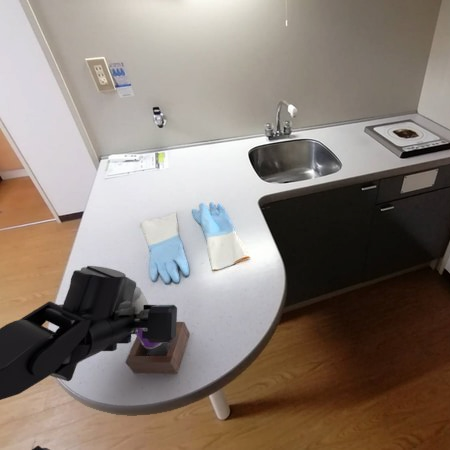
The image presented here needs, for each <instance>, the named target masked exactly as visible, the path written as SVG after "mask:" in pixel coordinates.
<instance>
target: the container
mask: <svg viewBox="0 0 450 450" xmlns="http://www.w3.org/2000/svg"><path fill="white" fill-rule="evenodd" d="M144 305H151V304H150V303H149V301H148V299H147V297H146V295H145V294H144V292H143V290H142V289H141V287H139V286H136V289H135V291H134V295H133V300H132V303H131V306H135V314H139V313H140V311H141V310H143V307H144ZM135 320H137V319H135ZM138 320H139V319H138ZM136 329H137V328H136ZM138 329H139V328H138ZM135 336H136V337H138V339H139V340H140V342H141V343H142V345H143V346H144V347H145V348H147V349H150V350H151V349H155V348H157V347H159V346H161V344H162V343H149V341H148V340H147V339H142V329H139V333H138V334H135Z"/></svg>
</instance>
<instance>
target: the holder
mask: <svg viewBox="0 0 450 450" xmlns="http://www.w3.org/2000/svg"><path fill="white" fill-rule="evenodd" d="M189 338H190V331H189V328H188V326H187V324H186V322H185V321H177V326H176V337H175V338H174V339H173V340H172V341H170V345H169V347H168V350H167V354H166V355H149V353H150V350H151V349H147V348H145V347H144V346H143V345H142V343H141V342H140V340H139V339H138V337H137V336H136V337H135V339H134V341H133V344H132V345H131V349H130V350H129V353H128V355H127V358H126V360H125V362H124V363H125V364H126V365H127V367H128V368H129V369H130V370H131V371H132V373H133V374H178V372H179V369H180V365H181V364H182V360H183V356H184V354H185V350H186V346H187V343H188V341H189V340H188V339H189Z"/></svg>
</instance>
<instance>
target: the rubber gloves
mask: <svg viewBox="0 0 450 450" xmlns="http://www.w3.org/2000/svg"><path fill="white" fill-rule="evenodd" d="M198 208H199V210H198V209H196V208H192V209H191V214H192V217H193V218H194V220H195V221H196V222H197V223H198V224H199V225H201V228H202V232H203V233H204V236H205V241H206V246H207V252H208V257H209V263H210V268H211V271H212V272H215V271H218V270H222V269H225V268H227V267H230V266H233V265H234V264H237V263H240V262H243V261H245V260H248V259H250V258H251V256H250V254H249V253H248V250H247V249H246V247H245V245H244V243H243V242H242V240H241V239H240V237H239V236H238V234H237V232H236V230H235V227H234V225H233V223H232V221H231V219H230V216H229V215H228V212H227V210H226V208H225V207H224V206H223V205H222V204H221V203H217V204H215V203H214V202H212V201H210V202H209V207H208V206H207V205H206V203H204V202H200V203H199V204H198ZM140 226H141V230H142V232H143V235H144V238H145V241H146V244H147V246H148V251H149V253H150V256H149V265H148V274H149V278H150V279H151V281H152V282H156V281H157V280H158V277H159V275H160V277H161V279H162V281H163V282H164V283H165V284H170V283H171V281H173V282H174V283H175V284H177V283H179V282H180V274H179V269H180V270H181V272H182V274H183V276H184V277H188V276H189V275H190V269H189V267H190V266H189V262H188V259H187V257H186V254H185V251H184V244H183V241H182V239H181V237H180V234H179V223H178V216H177V212H176V211H173V212H171V213H170V214H168V215H166V216H163V217H159V218H156V219H151V220H144V221H142V222H140Z"/></svg>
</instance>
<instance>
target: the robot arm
mask: <svg viewBox="0 0 450 450" xmlns="http://www.w3.org/2000/svg"><path fill="white" fill-rule="evenodd" d="M136 287H137V282H136V281H135V280H133V279H131V278H129V277H127V276H126V274H125V273H124V272H122V271H120V270H117V269H113V268H110V267H104V266H98V265H87V266H84V267H81V268H80V269H78V270H77V269H75V270H73V272H72V274H71V277H70V283H69V288H68V290H67V292H66V296H65V298H64V301H63V303H62V304H57V303H55V302H53V301H47V302H46V303H44V304H42V305H40V306H39V307H38V308H36V309H34V310H33V311H31V312H29V313H28V314H26V315H24V316H23V317H22V318H20V319H17V320H14V321H11V322H9V323H6V324H5V325H3V326H2V327H0V401H2V400H5V399H8V398H11V397H14V396H17V395H20V394H22V393H24V392H25V391H27V390H28V389H30V388H32V387H33V386H35V385H37V384H38V383H40V382H42V381H43V380H44V379H47V378H48V377H53V378H56V379H59V380H63V381H66V382H70V381H71V380H73V377H74V374H75V371H76V368H77V366H78V364H79V363H80V362H83V361H85V360H87V359H89V358H91V357H93V356H96V355H97V354H99V353H101V352H114V351H117V350H118V344H125V345H126V344H130V343H131V342H132V335H136V334H138V333H139V329H142V339H147V340H148V341H149V343H161V344H166V343H167V344H169V343H171V341H172V340H173V339H174V338H175V337H176V326H177V322H178V307H177V306H176V305H175V304H150V305H144V307H143V310H141V311H140V313H139V314H135V306H131V303H132V300H133V295H134V291H135V289H136ZM135 319H137V320H135ZM138 319H139V320H138ZM46 322H48V323H49V324H52V325H54V326H56V327H57V329H55V331H54V330H51V329H49V328H47V327H46V326H43V325H44V324H45V323H46ZM136 328H137V329H136ZM138 328H139V329H138ZM31 450H51V449H50V448H48V447H42V446H40V445H37V446H35V447H33V448H31Z"/></svg>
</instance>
